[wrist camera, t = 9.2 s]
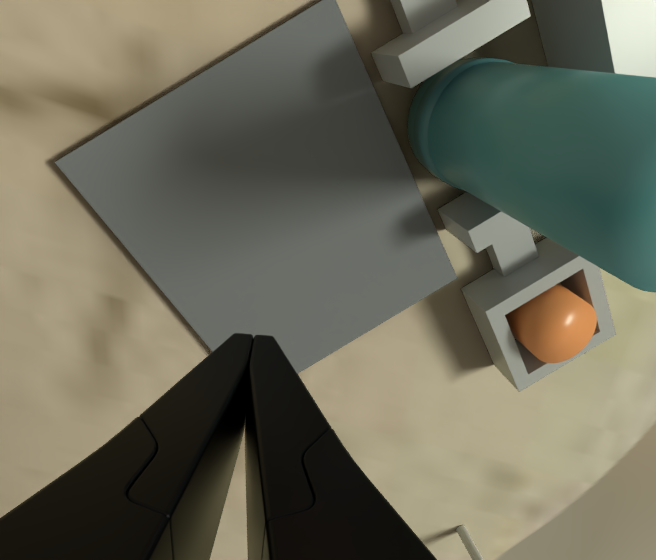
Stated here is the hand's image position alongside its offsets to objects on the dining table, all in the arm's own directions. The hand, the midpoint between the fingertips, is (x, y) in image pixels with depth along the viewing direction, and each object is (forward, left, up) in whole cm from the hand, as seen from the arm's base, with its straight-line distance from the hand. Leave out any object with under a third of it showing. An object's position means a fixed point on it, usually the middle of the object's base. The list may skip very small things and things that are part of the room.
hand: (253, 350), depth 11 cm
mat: (+3, +1, -12) cm, 13 cm away
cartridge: (+6, +9, -12) cm, 16 cm away
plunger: (+17, +5, -12) cm, 21 cm away
